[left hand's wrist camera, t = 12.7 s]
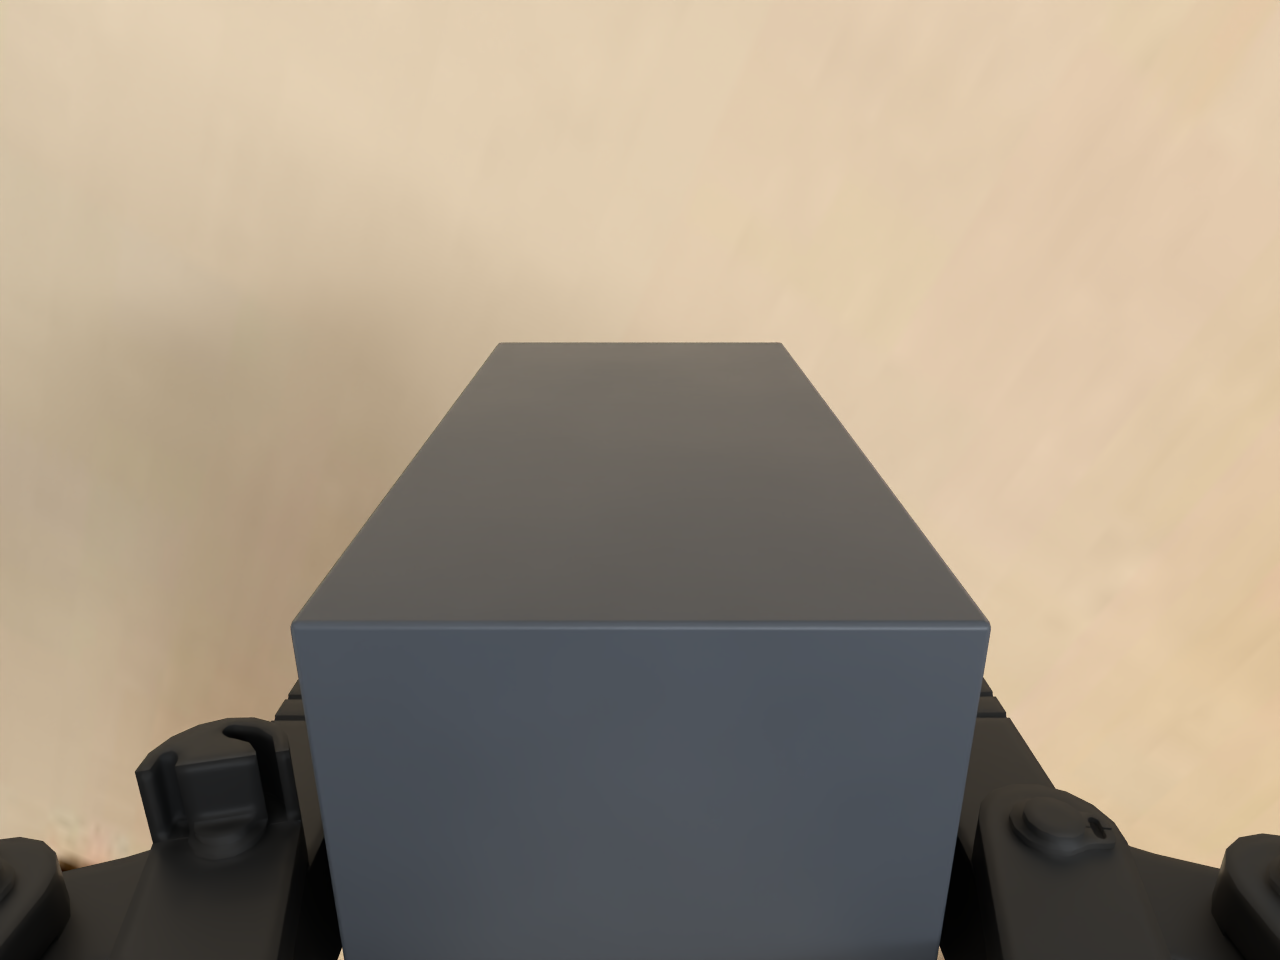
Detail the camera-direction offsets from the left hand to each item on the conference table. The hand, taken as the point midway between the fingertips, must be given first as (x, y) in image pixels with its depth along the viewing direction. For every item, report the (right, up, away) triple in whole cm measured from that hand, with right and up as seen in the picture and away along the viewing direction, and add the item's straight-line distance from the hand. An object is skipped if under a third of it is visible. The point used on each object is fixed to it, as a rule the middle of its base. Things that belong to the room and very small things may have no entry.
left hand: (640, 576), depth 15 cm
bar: (0, -7, +3) cm, 7 cm away
